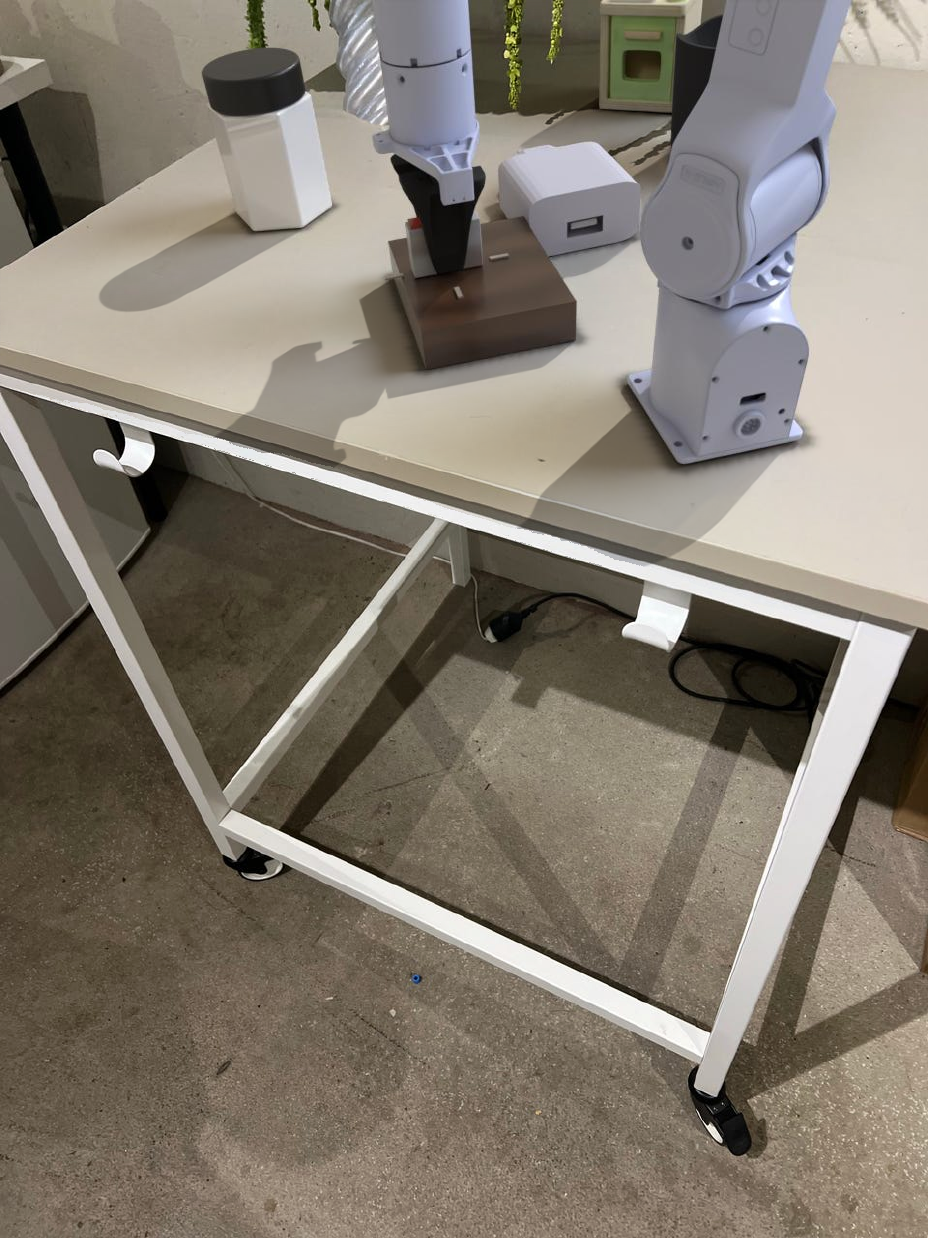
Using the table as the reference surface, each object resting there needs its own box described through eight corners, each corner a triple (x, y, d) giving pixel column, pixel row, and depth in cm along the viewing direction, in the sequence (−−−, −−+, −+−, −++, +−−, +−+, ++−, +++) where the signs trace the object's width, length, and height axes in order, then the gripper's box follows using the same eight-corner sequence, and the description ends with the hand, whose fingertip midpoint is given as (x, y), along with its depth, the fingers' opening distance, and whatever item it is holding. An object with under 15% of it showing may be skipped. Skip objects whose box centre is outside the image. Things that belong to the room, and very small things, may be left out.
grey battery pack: (478, 255, 65) (475, 205, 62) (483, 265, 64) (480, 214, 61) (410, 268, 65) (404, 218, 62) (414, 278, 63) (408, 227, 61)
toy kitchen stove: (594, 111, 90) (599, -45, 80) (616, 85, 94) (622, -66, 84) (676, 117, 87) (691, -44, 77) (694, 90, 91) (711, -66, 81)
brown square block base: (576, 340, 62) (577, 298, 60) (409, 373, 61) (403, 332, 59) (524, 252, 71) (523, 213, 69) (378, 279, 70) (372, 241, 68)
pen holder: (657, 141, 83) (666, 19, 76) (755, 131, 83) (775, 7, 75) (676, 182, 77) (689, 54, 70) (782, 172, 77) (807, 42, 69)
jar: (337, 187, 82) (310, 42, 73) (327, 227, 77) (297, 75, 68) (245, 195, 83) (206, 51, 74) (229, 234, 78) (185, 85, 69)
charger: (576, 168, 81) (637, 238, 71) (481, 187, 80) (530, 260, 70) (577, 113, 77) (642, 178, 67) (477, 132, 76) (528, 200, 66)
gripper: (346, 29, 58) (378, 229, 68) (380, 101, 49) (410, 322, 59) (449, 12, 59) (464, 213, 69) (502, 81, 49) (511, 302, 59)
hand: (446, 262), depth 64 cm, fingers closed on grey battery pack, 2 cm apart
